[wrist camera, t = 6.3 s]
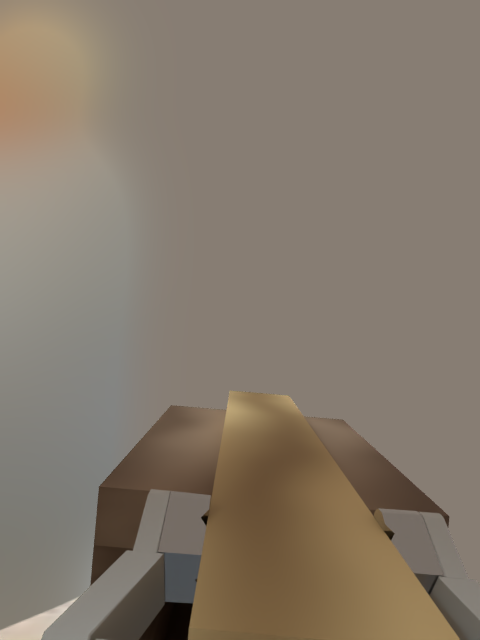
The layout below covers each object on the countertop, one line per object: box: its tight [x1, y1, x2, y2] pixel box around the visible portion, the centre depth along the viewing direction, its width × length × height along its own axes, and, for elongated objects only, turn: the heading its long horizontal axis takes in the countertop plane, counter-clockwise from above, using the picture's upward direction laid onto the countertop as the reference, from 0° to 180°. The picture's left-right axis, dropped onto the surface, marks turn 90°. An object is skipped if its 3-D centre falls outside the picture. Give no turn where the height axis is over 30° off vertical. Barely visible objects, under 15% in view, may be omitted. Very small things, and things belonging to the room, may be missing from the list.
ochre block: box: [188, 391, 460, 640], centre depth 18 cm, size 4×24×2 cm, turn 0°
